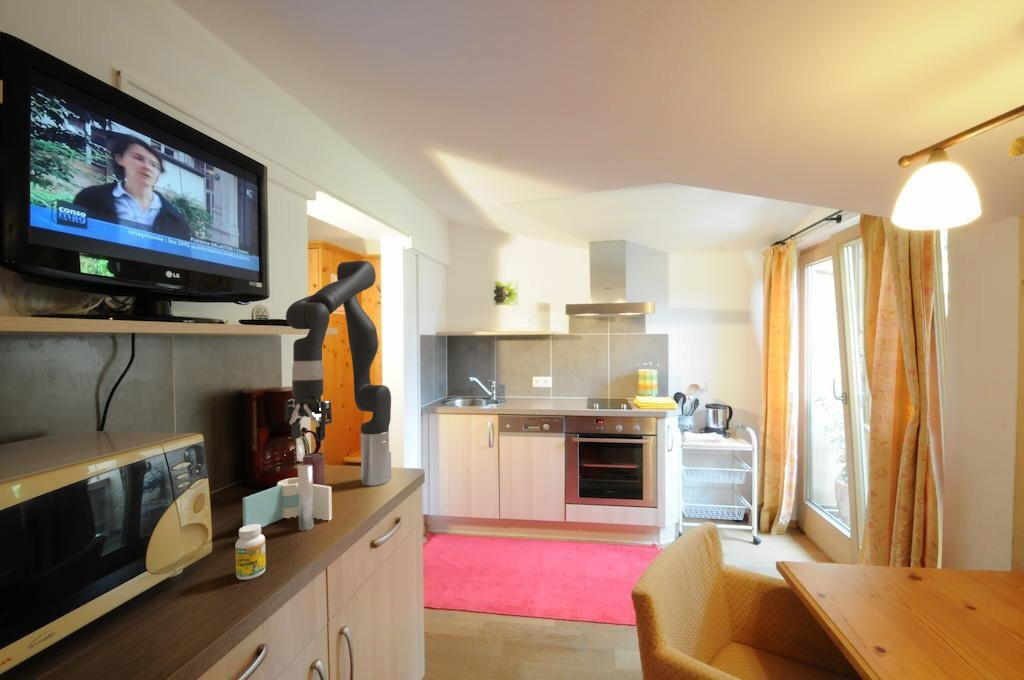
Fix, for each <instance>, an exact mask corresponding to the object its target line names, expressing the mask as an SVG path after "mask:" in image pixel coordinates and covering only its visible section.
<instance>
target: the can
mask: <svg viewBox="0 0 1024 680" xmlns="http://www.w3.org/2000/svg"><path fill="white" fill-rule="evenodd" d="M325 461H326V460H325V455H324V453H323V452H311V453H307V454H303V457H302V465H313V484H317V485H324V486H326V483H325V481H326V480H325V479H326V475H325V474H326V472H325V469H326V468H325V465H326V464H325Z"/></svg>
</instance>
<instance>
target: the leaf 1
mask: <svg viewBox="0 0 1024 680" xmlns="http://www.w3.org/2000/svg"><path fill="white" fill-rule="evenodd" d="M293 506H298V495H293V496H282V485H279V486H277V485H276V486H273V487H270V488H268V489H265V490H262V491H259V492H256V493H253V494H250V495H249V496H245V497H242V527H244V526H247V525H251V524H259V525H261V527H262V528H264V527H266V526H269V525H271V524H272V523H275V522H277V521H280V520H282V519H283V507H284V508H286V507H293ZM270 523H271V524H270ZM268 524H269V525H268Z"/></svg>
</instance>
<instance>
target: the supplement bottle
mask: <svg viewBox="0 0 1024 680" xmlns="http://www.w3.org/2000/svg"><path fill="white" fill-rule="evenodd" d="M238 536H239V538H238V539H237V541H236V542H235V545H234V546H235V549H234V550H235V576H236V578H237V579H238V580H243V581H244V580H245V581H246V580H250V579H254V578H257V577H259V576H261V575H262V574H264V573H265V571H266V567H267V559H266V537H265V535H264V534H262V528H261V525H259V524H251V525H247V526H244V527H243V526H242V527H240V528H239V530H238Z"/></svg>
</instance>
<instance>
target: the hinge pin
mask: <svg viewBox="0 0 1024 680" xmlns="http://www.w3.org/2000/svg"><path fill="white" fill-rule="evenodd" d="M297 477H298V505H299V516H298V531H299V530H302V531H301V532H305V531H304V530H308V531H310V530H309V529H311V530H313V529H314V528H313V527H315V526H314V524H315V523H314V520H315V519H314V511H313V465H303V464H302V465H299V466H298V467H297ZM312 528H313V529H312Z"/></svg>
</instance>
